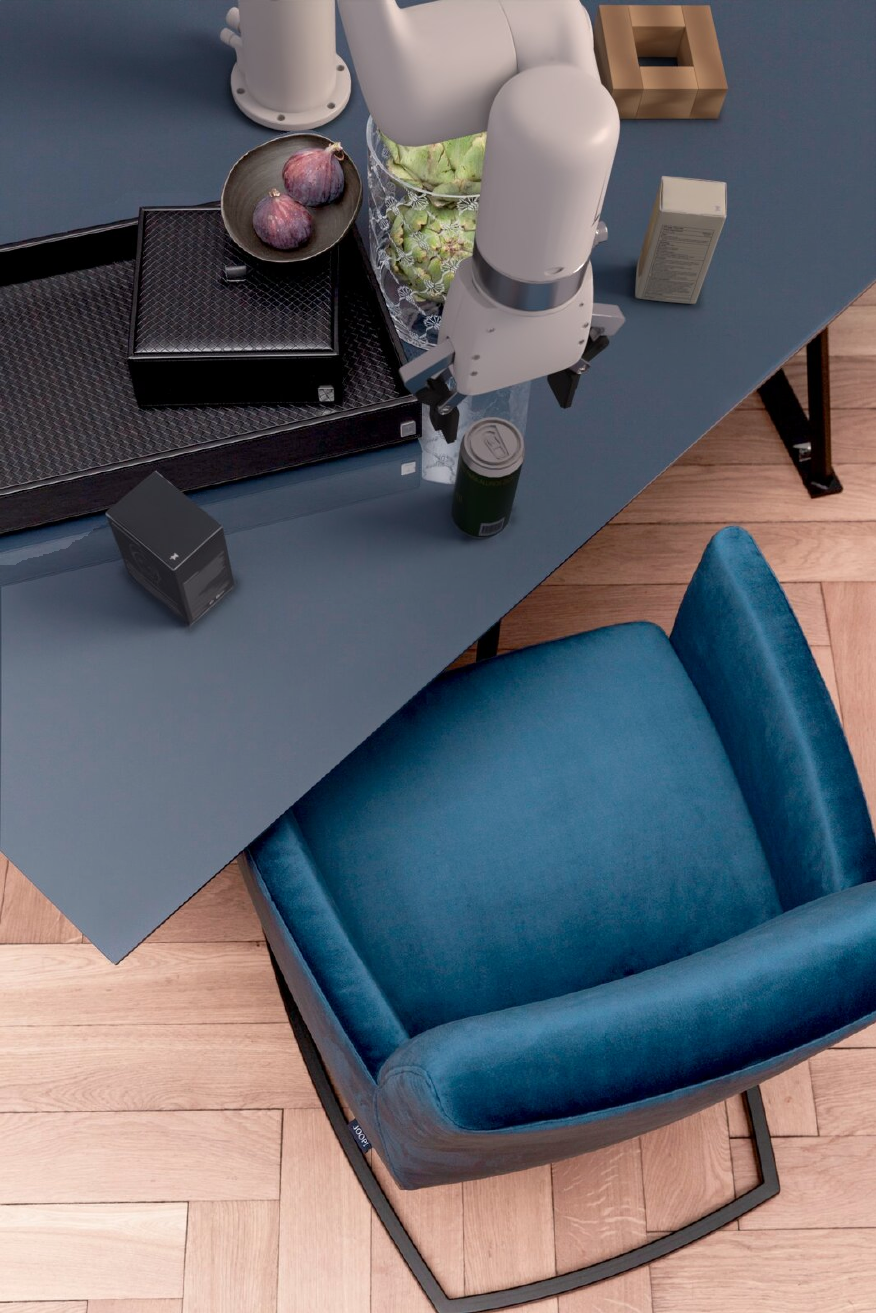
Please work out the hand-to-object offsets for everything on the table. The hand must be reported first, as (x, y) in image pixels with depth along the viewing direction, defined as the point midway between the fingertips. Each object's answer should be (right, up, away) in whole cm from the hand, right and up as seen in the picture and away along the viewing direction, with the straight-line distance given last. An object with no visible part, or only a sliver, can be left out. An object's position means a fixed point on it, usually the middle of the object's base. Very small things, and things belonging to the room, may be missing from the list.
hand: (501, 411), depth 94 cm
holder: (+19, +44, +38) cm, 62 cm away
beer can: (-1, -6, +16) cm, 17 cm away
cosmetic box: (+18, +18, +27) cm, 37 cm away
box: (-27, -12, +11) cm, 32 cm away
